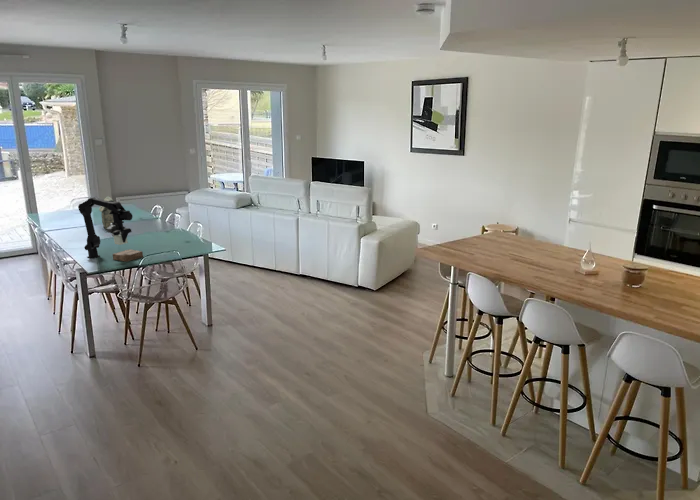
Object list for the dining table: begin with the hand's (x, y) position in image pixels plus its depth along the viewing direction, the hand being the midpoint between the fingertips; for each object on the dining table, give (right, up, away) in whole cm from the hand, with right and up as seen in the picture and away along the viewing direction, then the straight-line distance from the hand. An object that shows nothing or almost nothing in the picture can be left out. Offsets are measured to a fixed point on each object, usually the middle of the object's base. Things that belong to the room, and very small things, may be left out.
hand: (121, 242), depth 359 cm
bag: (-57, +15, +108) cm, 123 cm away
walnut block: (+3, -11, +5) cm, 13 cm away
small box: (-37, +7, +77) cm, 86 cm away
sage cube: (0, -1, 0) cm, 1 cm away
